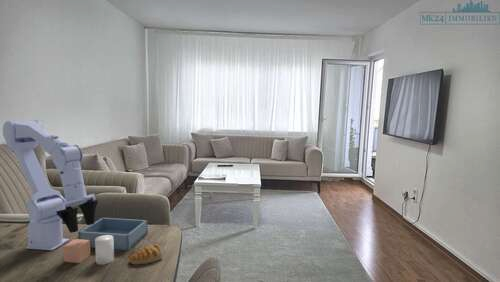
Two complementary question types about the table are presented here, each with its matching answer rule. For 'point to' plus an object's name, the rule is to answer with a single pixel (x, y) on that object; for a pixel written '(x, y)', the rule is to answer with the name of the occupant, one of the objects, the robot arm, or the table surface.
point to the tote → (116, 231)
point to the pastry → (146, 255)
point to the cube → (76, 250)
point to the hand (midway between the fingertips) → (82, 228)
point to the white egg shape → (104, 249)
